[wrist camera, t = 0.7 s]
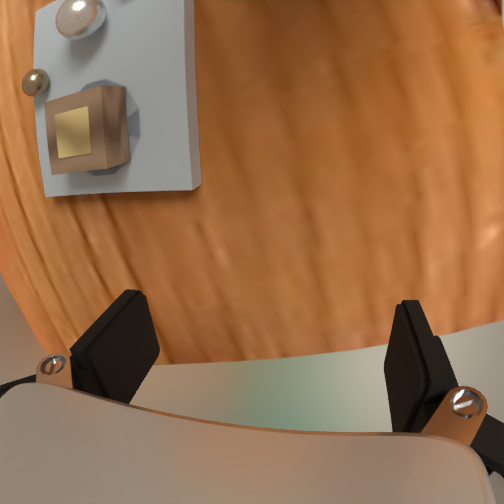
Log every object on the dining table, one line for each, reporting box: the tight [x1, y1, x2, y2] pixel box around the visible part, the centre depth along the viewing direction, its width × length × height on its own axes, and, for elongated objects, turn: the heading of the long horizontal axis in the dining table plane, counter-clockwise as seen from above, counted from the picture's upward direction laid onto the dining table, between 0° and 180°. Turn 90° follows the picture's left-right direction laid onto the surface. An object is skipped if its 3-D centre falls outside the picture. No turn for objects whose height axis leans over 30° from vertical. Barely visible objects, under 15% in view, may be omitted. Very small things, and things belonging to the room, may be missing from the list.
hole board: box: [33, 0, 202, 197], centre depth 32 cm, size 28×23×3 cm
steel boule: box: [55, 0, 106, 40], centre depth 24 cm, size 6×6×6 cm
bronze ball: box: [22, 68, 49, 97], centre depth 30 cm, size 4×4×4 cm
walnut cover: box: [44, 86, 130, 175], centre depth 31 cm, size 9×9×5 cm
